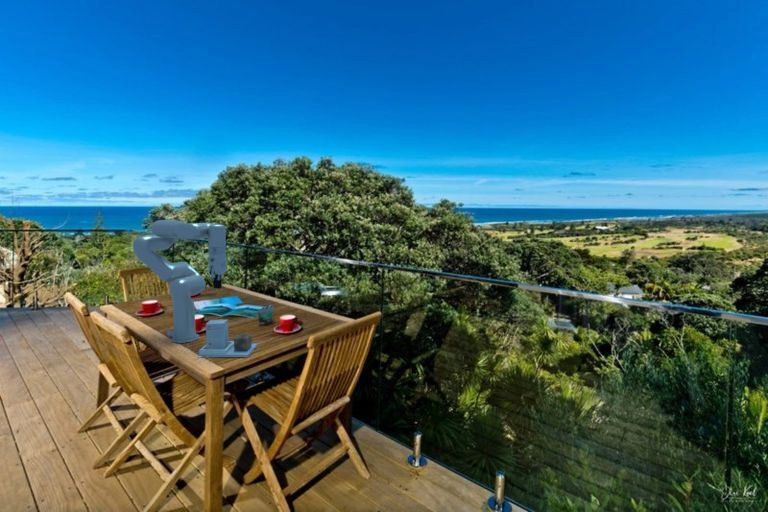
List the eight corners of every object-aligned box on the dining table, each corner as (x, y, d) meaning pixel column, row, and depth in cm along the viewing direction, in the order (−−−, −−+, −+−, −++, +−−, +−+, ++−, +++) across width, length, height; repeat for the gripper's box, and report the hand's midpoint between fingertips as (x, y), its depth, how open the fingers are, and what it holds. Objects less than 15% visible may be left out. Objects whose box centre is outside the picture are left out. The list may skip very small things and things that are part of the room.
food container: (267, 327, 217) (267, 309, 216) (257, 326, 218) (257, 308, 217) (278, 320, 229) (277, 304, 228) (268, 319, 230) (268, 303, 229)
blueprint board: (198, 357, 173) (198, 350, 172) (211, 346, 187) (211, 340, 186) (247, 357, 173) (247, 351, 173) (257, 346, 187) (257, 340, 187)
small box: (229, 345, 183) (228, 319, 182) (224, 350, 177) (223, 323, 175) (211, 346, 183) (210, 319, 181) (206, 351, 176) (205, 323, 175)
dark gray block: (234, 351, 177) (233, 338, 176) (238, 346, 183) (238, 334, 182) (247, 351, 177) (246, 338, 176) (251, 346, 183) (251, 334, 182)
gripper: (217, 252, 175) (218, 292, 178) (231, 248, 190) (231, 285, 192) (201, 251, 175) (202, 291, 178) (216, 248, 190) (217, 284, 193)
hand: (217, 287), depth 185 cm, fingers closed
